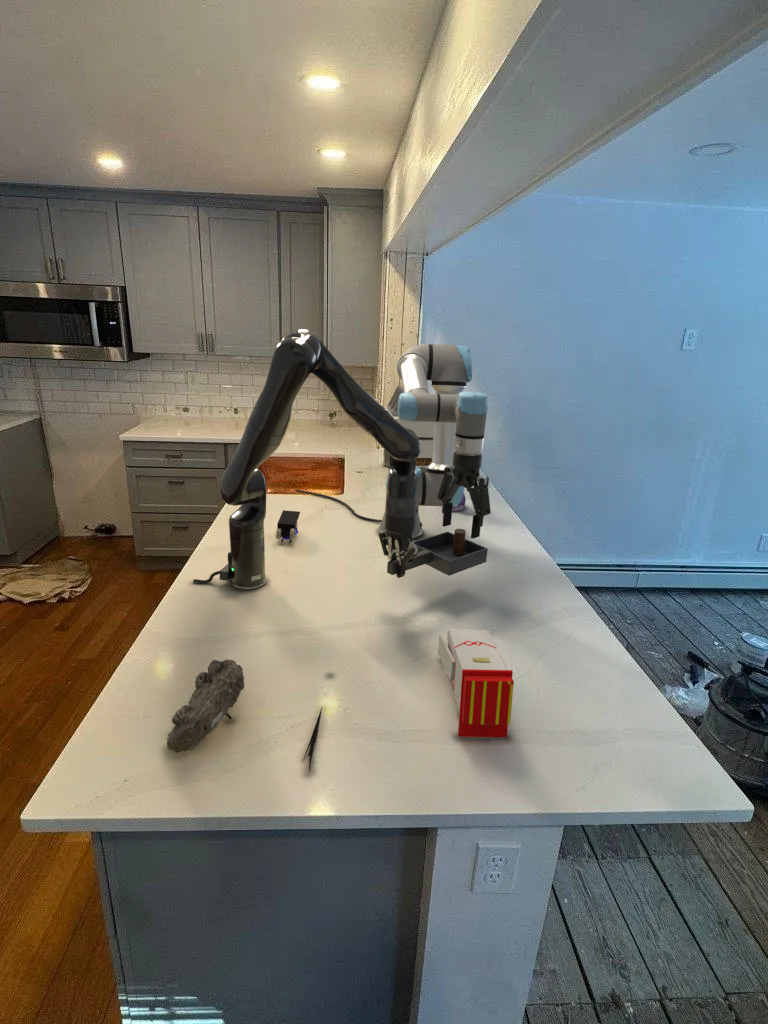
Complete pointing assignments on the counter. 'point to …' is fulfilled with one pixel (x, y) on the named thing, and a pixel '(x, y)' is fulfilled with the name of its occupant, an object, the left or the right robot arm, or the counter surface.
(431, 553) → the tray
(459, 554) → the peg
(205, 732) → the fossil
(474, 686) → the toy
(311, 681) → the counter surface
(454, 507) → the figurine
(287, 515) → the figurine character
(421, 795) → the counter surface
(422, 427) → the white slatted crate
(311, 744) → the feather
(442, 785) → the counter surface
